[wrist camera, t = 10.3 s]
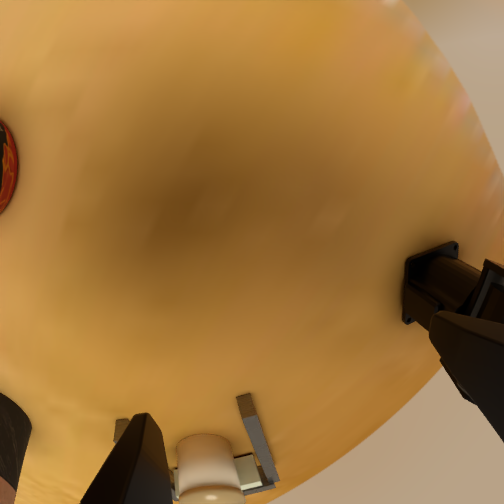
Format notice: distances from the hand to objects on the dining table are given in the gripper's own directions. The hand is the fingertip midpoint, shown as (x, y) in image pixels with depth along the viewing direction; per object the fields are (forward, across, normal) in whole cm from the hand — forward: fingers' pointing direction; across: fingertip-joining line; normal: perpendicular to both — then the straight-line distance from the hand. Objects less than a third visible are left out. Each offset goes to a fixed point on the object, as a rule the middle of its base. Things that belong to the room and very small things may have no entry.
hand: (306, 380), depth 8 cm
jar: (+12, +8, +20) cm, 24 cm away
